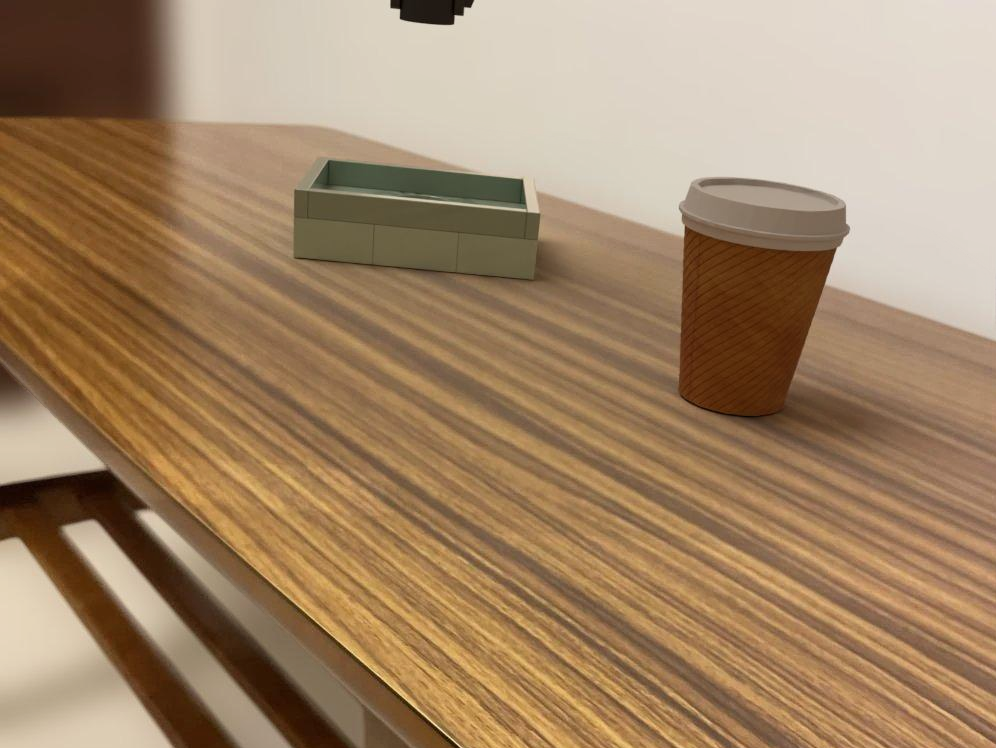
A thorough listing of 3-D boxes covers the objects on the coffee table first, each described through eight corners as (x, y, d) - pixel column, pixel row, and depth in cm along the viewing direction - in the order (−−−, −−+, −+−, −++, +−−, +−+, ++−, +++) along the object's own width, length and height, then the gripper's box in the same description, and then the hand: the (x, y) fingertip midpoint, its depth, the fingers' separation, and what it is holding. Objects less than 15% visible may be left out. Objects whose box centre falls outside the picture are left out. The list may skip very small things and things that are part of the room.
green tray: (293, 257, 92) (293, 216, 90) (317, 215, 105) (317, 179, 103) (533, 280, 93) (537, 240, 92) (527, 236, 106) (531, 200, 105)
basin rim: (293, 216, 90) (294, 189, 89) (317, 180, 103) (317, 156, 102) (537, 240, 92) (540, 213, 91) (531, 202, 104) (534, 178, 103)
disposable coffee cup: (788, 376, 78) (827, 184, 73) (830, 433, 70) (877, 219, 64) (640, 365, 77) (669, 169, 72) (664, 420, 69) (699, 203, 63)
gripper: (328, -288, 78) (323, 4, 86) (550, -261, 79) (525, 26, 87) (341, -271, 85) (335, -2, 93) (546, -247, 86) (523, 18, 94)
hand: (427, 10), depth 90 cm, fingers closed on stopper, 4 cm apart
